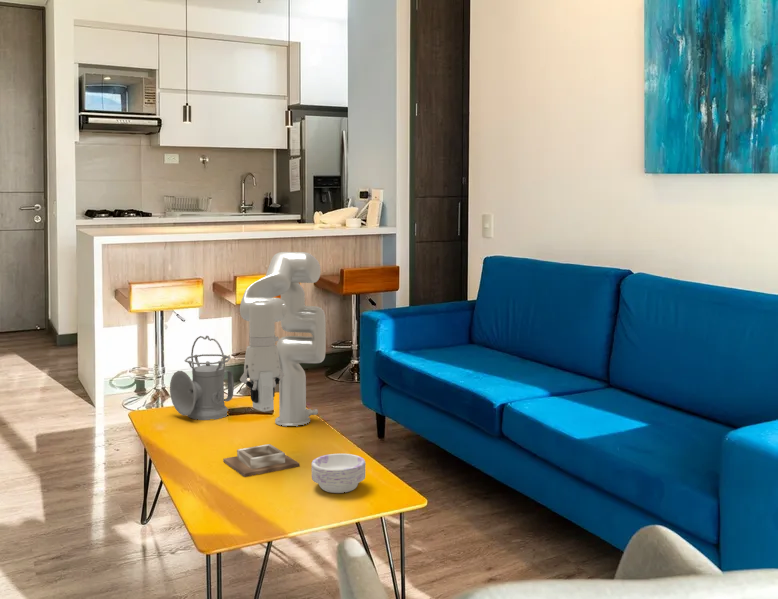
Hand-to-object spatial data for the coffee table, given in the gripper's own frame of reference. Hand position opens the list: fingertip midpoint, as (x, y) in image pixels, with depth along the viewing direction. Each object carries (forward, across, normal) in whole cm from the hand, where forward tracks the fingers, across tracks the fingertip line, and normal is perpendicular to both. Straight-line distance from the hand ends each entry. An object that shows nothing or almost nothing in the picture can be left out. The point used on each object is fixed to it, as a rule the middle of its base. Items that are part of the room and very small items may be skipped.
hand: (262, 400), depth 247 cm
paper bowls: (+20, -9, +30) cm, 38 cm away
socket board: (+20, +1, 0) cm, 20 cm away
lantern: (+20, -7, -62) cm, 65 cm away
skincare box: (+3, 0, 0) cm, 3 cm away
